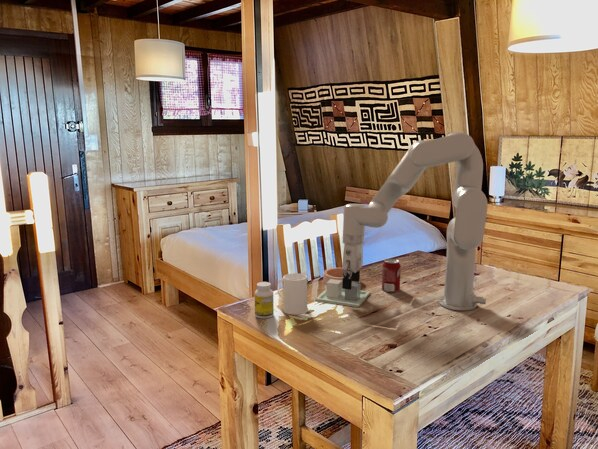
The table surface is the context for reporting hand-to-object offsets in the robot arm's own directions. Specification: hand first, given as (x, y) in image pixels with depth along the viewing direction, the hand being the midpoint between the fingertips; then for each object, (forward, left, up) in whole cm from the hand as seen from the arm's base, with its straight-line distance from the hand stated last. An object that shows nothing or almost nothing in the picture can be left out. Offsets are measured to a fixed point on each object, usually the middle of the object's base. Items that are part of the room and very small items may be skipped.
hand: (350, 284), depth 179 cm
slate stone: (-1, 0, -5) cm, 5 cm away
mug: (+16, +17, -6) cm, 24 cm away
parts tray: (+3, 0, -6) cm, 6 cm away
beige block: (+6, 0, -5) cm, 8 cm away
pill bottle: (+22, +26, -6) cm, 34 cm away
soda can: (-11, -15, -6) cm, 20 cm away
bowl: (+9, -16, -6) cm, 19 cm away
